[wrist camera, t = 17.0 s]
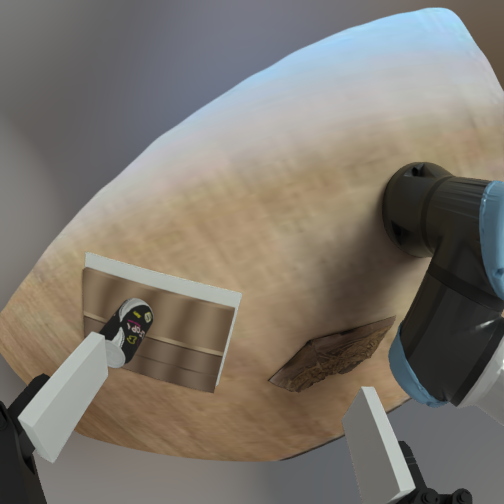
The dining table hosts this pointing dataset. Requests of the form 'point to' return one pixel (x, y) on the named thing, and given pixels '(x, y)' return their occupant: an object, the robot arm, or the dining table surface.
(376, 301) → the dining table surface
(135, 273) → the underlay mat
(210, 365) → the laid board
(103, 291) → the plank
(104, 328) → the beverage can
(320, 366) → the wooden fragment
